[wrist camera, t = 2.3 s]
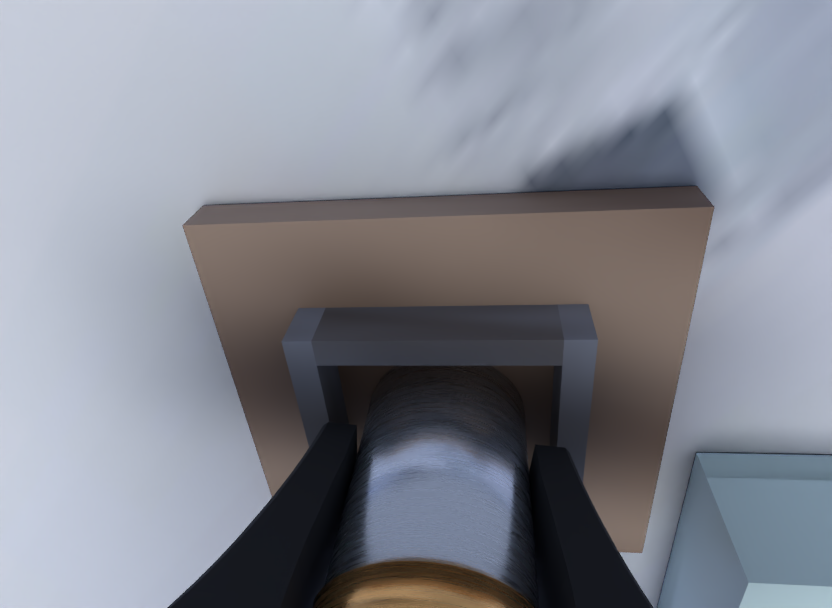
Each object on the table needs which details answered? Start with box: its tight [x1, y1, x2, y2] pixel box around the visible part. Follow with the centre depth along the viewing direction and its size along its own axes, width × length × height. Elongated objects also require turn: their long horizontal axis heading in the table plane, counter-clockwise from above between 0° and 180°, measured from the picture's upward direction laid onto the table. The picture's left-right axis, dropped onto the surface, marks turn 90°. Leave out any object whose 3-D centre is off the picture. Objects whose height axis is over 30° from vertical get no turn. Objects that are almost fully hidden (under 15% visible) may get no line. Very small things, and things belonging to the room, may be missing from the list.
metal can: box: [312, 366, 539, 608], centre depth 11 cm, size 4×4×6 cm
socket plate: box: [182, 186, 714, 553], centre depth 13 cm, size 10×10×2 cm
